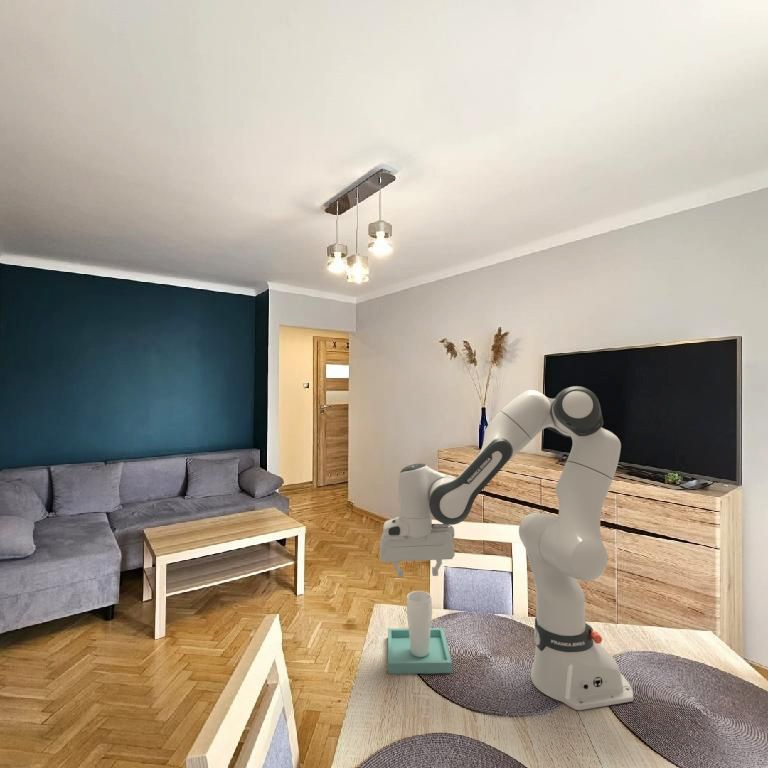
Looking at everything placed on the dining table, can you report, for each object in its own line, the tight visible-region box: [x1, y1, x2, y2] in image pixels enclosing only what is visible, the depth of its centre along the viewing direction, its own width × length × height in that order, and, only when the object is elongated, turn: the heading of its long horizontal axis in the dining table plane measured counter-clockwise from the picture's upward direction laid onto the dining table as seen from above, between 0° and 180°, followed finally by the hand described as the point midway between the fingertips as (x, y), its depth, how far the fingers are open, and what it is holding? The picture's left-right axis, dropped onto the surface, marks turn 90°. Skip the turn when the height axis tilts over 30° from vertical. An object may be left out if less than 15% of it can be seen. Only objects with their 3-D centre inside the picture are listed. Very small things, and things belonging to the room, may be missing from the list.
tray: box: [387, 627, 453, 675], centre depth 118 cm, size 16×16×3 cm
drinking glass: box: [406, 590, 433, 657], centre depth 118 cm, size 7×7×15 cm
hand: (417, 575), depth 118 cm, fingers open, 8 cm apart
